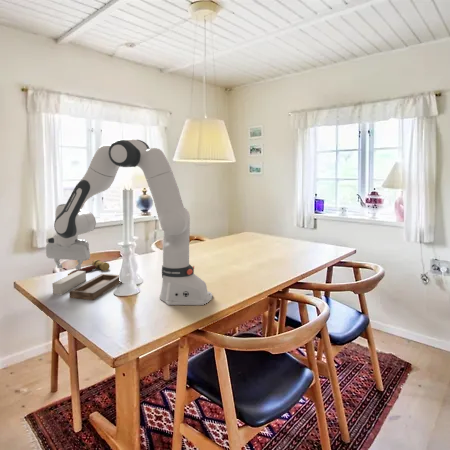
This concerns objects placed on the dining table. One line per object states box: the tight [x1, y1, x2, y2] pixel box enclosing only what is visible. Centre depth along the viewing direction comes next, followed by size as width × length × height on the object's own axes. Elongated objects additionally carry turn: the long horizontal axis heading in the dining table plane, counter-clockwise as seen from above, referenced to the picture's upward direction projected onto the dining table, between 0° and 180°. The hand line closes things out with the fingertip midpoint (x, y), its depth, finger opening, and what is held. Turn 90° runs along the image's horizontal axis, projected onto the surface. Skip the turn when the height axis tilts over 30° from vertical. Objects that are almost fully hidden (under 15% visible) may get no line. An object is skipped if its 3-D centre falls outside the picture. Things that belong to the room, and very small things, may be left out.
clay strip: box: [52, 271, 87, 295], centre depth 165 cm, size 4×20×5 cm, turn 171°
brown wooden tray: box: [68, 273, 120, 301], centre depth 162 cm, size 11×26×3 cm, turn 169°
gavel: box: [67, 259, 110, 276], centre depth 189 cm, size 21×5×10 cm
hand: (69, 268), depth 164 cm, fingers open, 8 cm apart
